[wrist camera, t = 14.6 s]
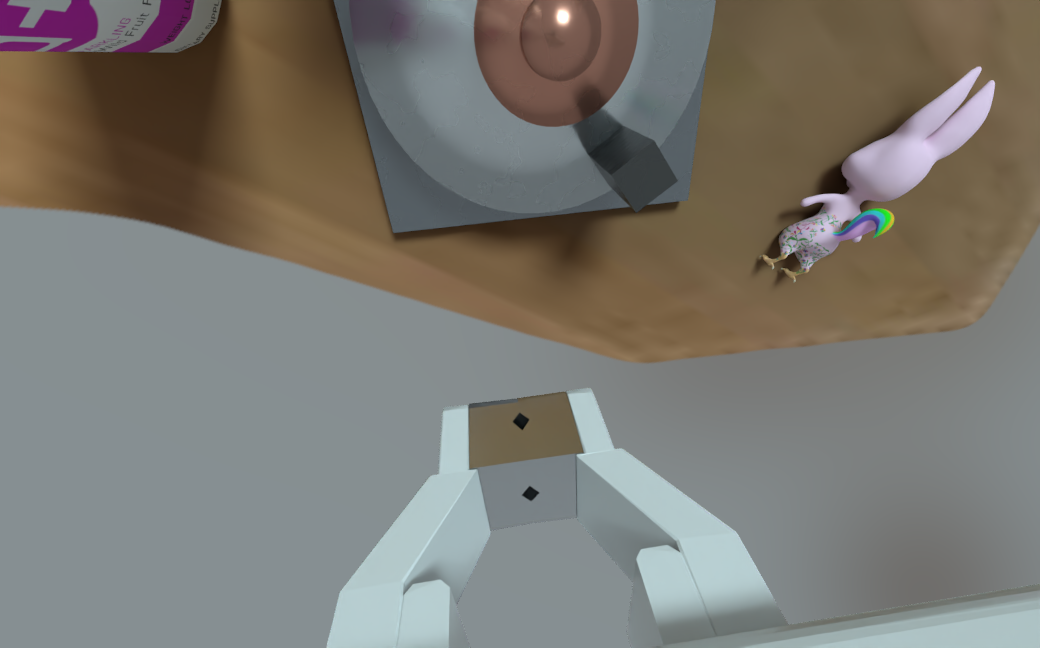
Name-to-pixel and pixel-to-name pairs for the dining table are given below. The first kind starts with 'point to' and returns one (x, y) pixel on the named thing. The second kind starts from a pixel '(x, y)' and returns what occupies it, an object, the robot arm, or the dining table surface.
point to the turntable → (510, 140)
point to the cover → (555, 55)
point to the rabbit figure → (886, 173)
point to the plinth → (434, 206)
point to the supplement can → (105, 25)
